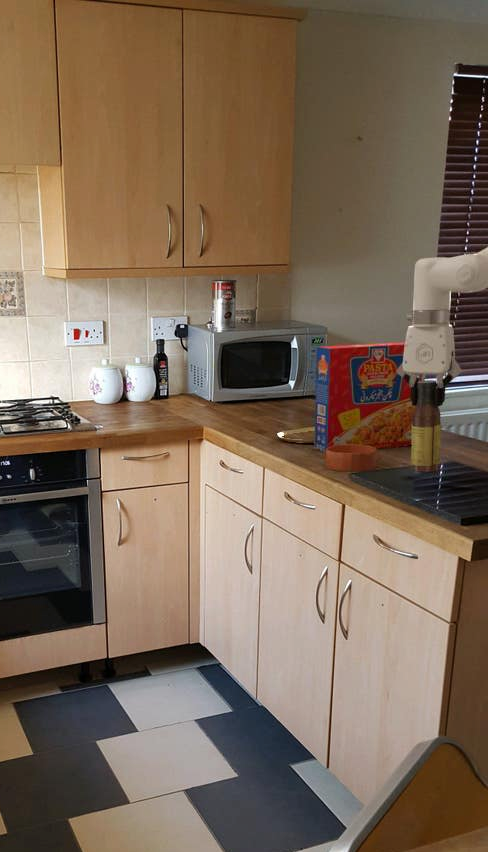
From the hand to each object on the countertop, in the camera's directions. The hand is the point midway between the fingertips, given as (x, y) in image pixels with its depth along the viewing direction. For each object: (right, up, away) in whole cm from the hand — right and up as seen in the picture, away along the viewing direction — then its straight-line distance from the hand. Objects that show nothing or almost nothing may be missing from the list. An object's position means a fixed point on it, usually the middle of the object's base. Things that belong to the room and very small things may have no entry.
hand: (427, 404), depth 192 cm
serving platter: (-8, +5, +73) cm, 74 cm away
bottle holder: (-10, -10, +31) cm, 34 cm away
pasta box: (-1, -1, +55) cm, 55 cm away
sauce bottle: (+1, -14, +5) cm, 15 cm away
